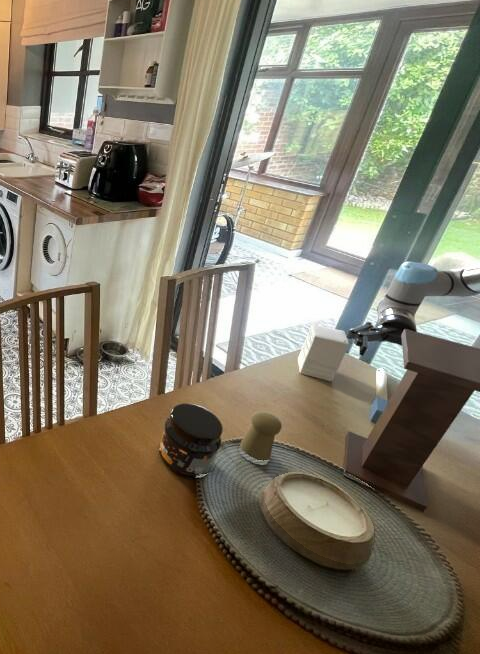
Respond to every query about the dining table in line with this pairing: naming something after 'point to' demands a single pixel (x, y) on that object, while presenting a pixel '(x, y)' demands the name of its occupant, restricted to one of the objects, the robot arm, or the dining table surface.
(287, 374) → the dining table surface
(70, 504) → the dining table surface
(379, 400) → the bottle brush
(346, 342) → the white packaging box
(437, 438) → the stand
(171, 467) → the supplement container
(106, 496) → the dining table surface
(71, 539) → the dining table surface
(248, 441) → the cork
